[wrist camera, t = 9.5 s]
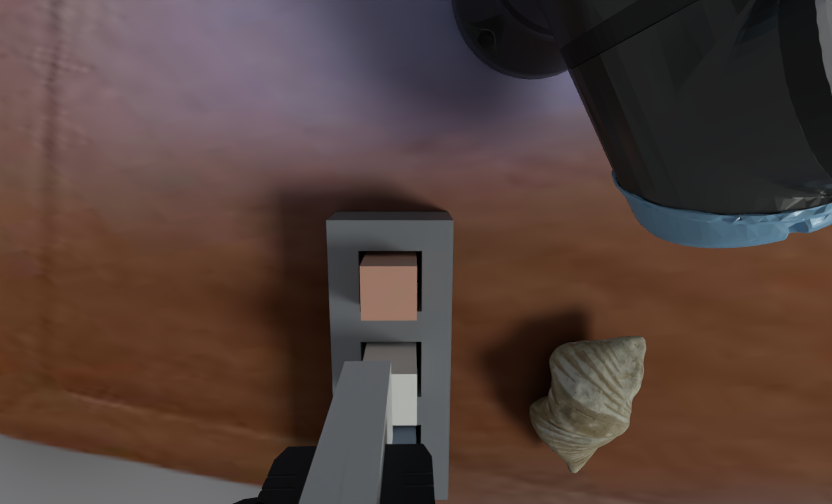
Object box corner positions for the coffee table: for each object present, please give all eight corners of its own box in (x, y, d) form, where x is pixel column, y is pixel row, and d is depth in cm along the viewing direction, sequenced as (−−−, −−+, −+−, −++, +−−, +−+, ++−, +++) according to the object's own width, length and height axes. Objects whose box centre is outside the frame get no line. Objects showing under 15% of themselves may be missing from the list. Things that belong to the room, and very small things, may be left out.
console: (336, 211, 45) (326, 220, 39) (447, 211, 45) (453, 220, 40) (345, 460, 51) (337, 500, 45) (443, 460, 51) (447, 499, 46)
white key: (367, 339, 44) (359, 374, 37) (415, 339, 44) (416, 374, 37) (368, 383, 45) (361, 425, 38) (415, 383, 45) (416, 425, 38)
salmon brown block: (367, 248, 44) (359, 266, 37) (416, 248, 44) (417, 266, 37) (368, 294, 45) (360, 320, 38) (415, 294, 45) (416, 320, 38)
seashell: (612, 491, 46) (606, 491, 38) (525, 449, 51) (503, 440, 43) (651, 360, 50) (654, 334, 42) (567, 332, 55) (554, 304, 47)
